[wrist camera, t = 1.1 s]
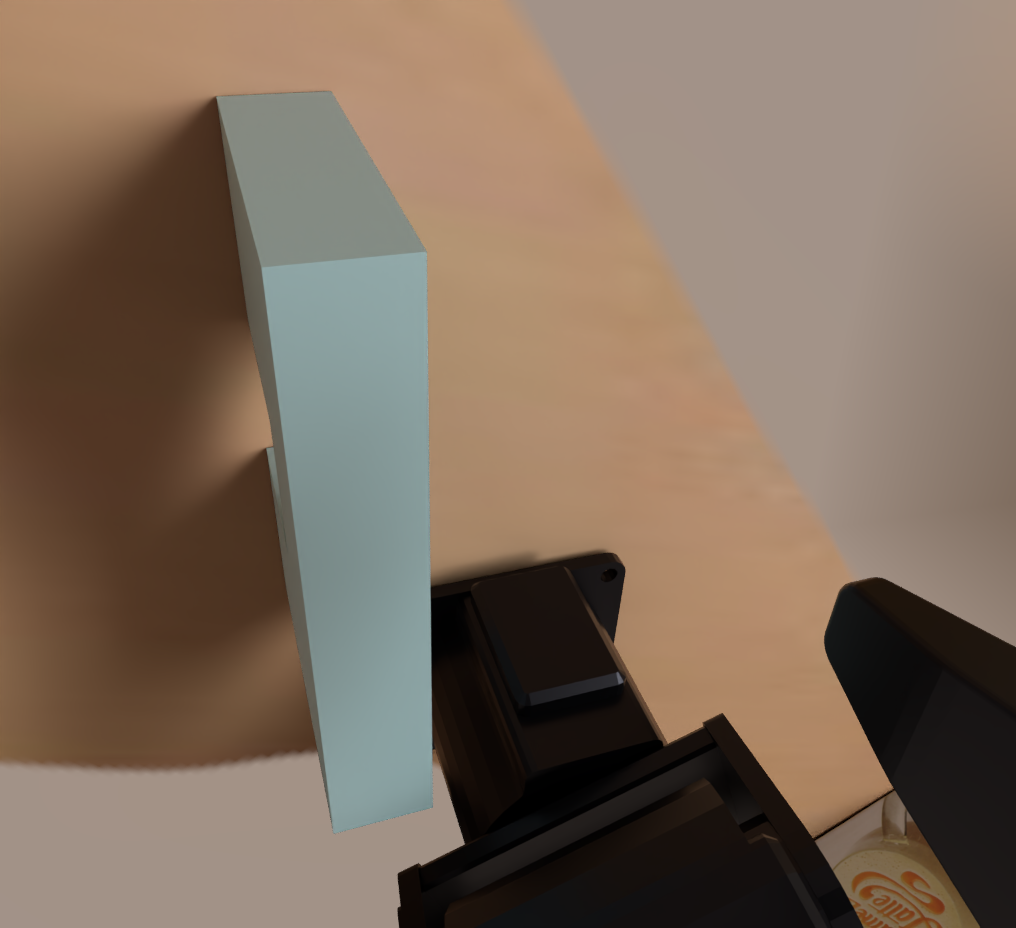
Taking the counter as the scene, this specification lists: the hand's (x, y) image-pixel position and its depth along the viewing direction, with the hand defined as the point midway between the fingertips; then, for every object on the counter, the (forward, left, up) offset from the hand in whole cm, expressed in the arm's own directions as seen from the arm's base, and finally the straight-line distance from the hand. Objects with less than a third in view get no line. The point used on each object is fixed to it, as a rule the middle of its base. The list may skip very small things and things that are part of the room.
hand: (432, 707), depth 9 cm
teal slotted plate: (-4, 0, -12) cm, 13 cm away
